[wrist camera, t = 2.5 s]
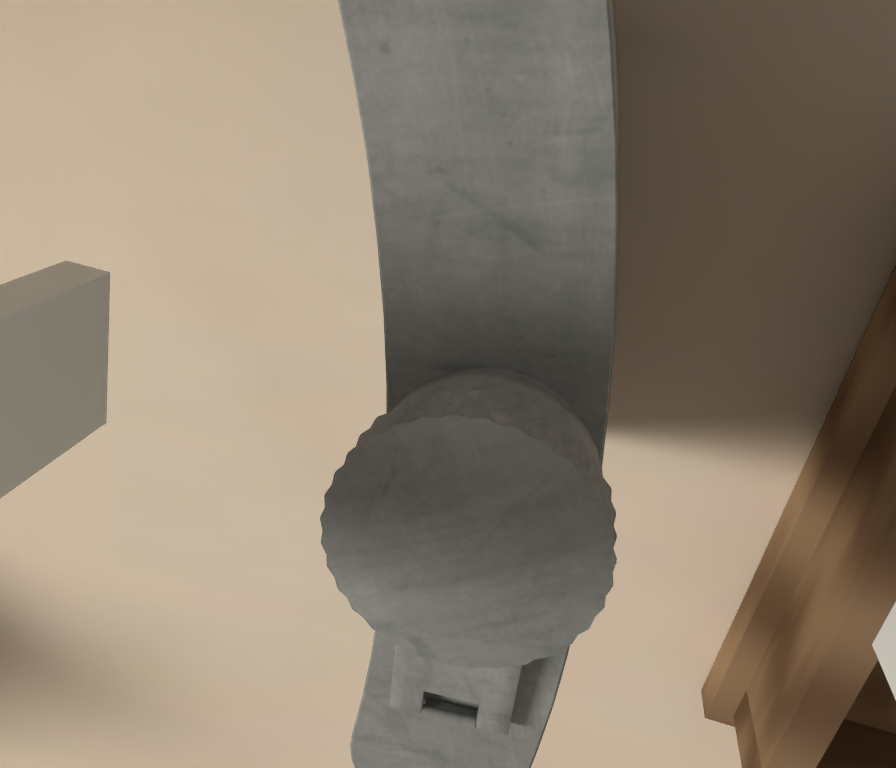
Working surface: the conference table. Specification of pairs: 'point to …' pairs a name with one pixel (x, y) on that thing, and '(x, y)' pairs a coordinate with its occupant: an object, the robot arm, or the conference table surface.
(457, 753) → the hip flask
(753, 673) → the u rest
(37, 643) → the conference table surface
